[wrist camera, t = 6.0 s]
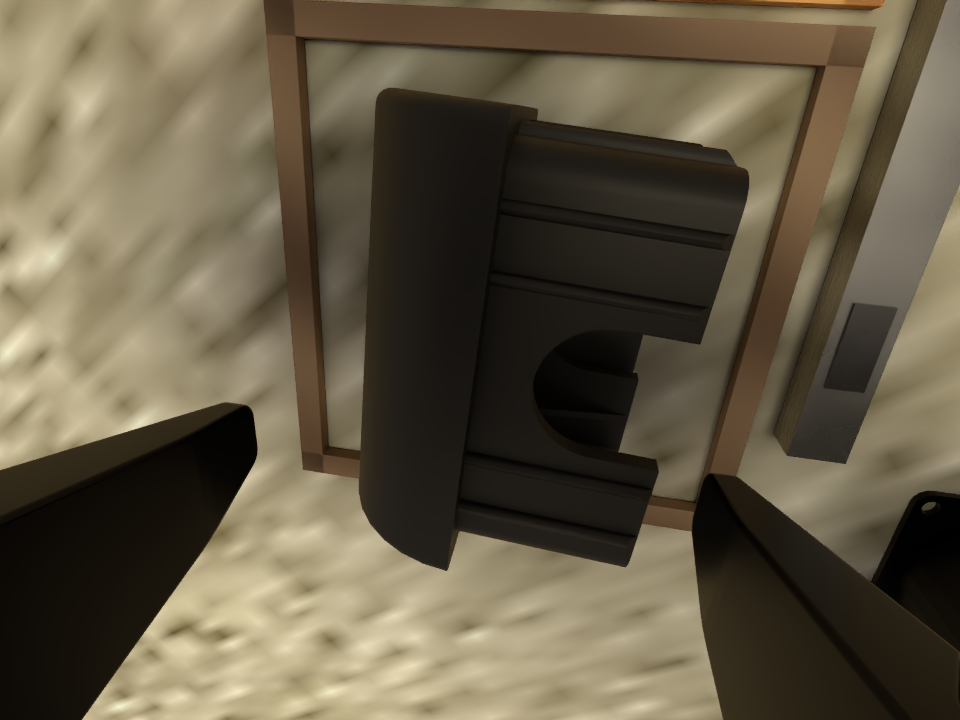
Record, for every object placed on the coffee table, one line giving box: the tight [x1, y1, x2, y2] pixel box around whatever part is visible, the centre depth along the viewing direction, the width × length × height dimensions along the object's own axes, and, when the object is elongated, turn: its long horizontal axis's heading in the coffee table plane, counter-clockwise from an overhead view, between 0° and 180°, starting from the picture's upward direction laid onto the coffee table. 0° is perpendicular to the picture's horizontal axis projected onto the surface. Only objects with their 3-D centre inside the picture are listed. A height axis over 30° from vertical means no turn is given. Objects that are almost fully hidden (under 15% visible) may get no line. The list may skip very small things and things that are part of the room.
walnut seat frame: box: [264, 0, 876, 531], centre depth 16 cm, size 15×15×1 cm
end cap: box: [359, 88, 749, 571], centre depth 14 cm, size 10×7×7 cm
